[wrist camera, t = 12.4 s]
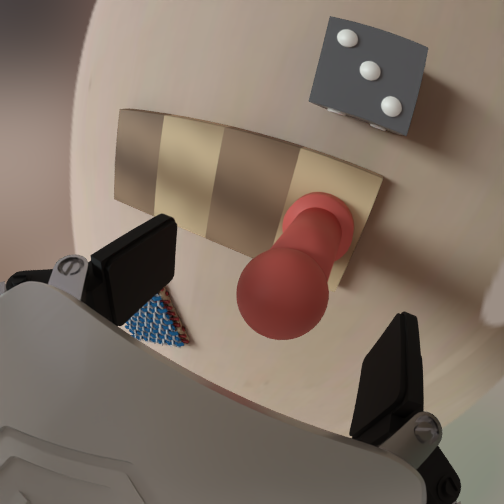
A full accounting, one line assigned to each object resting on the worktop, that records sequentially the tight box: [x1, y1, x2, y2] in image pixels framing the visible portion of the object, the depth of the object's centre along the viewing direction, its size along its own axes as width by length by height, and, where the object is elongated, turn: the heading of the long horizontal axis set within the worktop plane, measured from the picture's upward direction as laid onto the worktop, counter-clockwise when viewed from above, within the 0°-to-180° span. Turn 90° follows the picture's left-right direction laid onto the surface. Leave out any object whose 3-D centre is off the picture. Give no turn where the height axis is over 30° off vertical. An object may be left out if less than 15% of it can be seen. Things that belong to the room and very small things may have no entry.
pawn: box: [237, 192, 354, 340], centre depth 14 cm, size 5×5×10 cm
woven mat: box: [125, 287, 190, 348], centre depth 32 cm, size 10×11×2 cm
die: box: [309, 16, 428, 136], centre depth 12 cm, size 5×5×5 cm
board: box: [114, 109, 383, 292], centre depth 21 cm, size 9×22×1 cm, turn 76°
